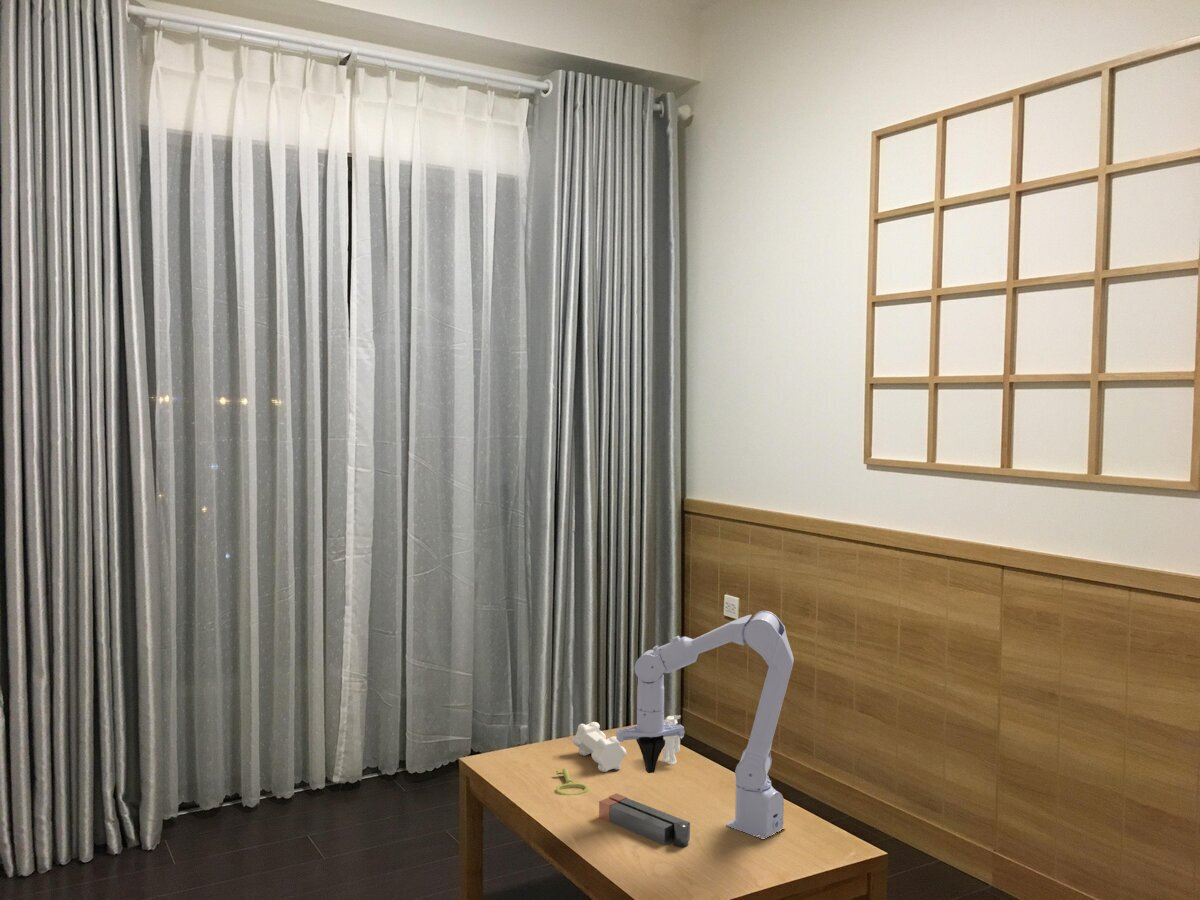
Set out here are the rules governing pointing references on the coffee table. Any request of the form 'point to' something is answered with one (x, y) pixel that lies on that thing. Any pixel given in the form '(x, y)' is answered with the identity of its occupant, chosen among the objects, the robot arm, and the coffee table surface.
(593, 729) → the bone shaped toy
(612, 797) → the bar
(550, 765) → the coffee table surface
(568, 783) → the key
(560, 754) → the coffee table surface
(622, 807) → the tongs fixed arm
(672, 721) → the flower shoulder figurine
